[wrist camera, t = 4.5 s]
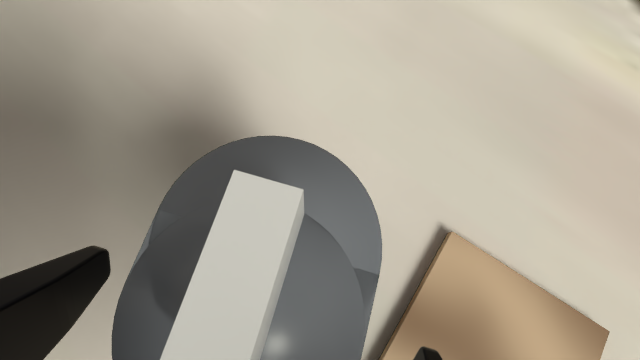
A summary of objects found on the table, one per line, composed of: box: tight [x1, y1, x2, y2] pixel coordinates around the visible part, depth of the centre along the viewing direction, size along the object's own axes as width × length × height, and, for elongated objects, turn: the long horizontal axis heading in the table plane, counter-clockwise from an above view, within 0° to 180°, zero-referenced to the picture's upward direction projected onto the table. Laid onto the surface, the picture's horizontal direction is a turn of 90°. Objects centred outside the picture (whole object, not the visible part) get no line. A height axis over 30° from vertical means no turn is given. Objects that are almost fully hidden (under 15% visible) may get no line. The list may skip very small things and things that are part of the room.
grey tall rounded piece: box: [112, 136, 382, 360], centre depth 11 cm, size 7×5×13 cm
